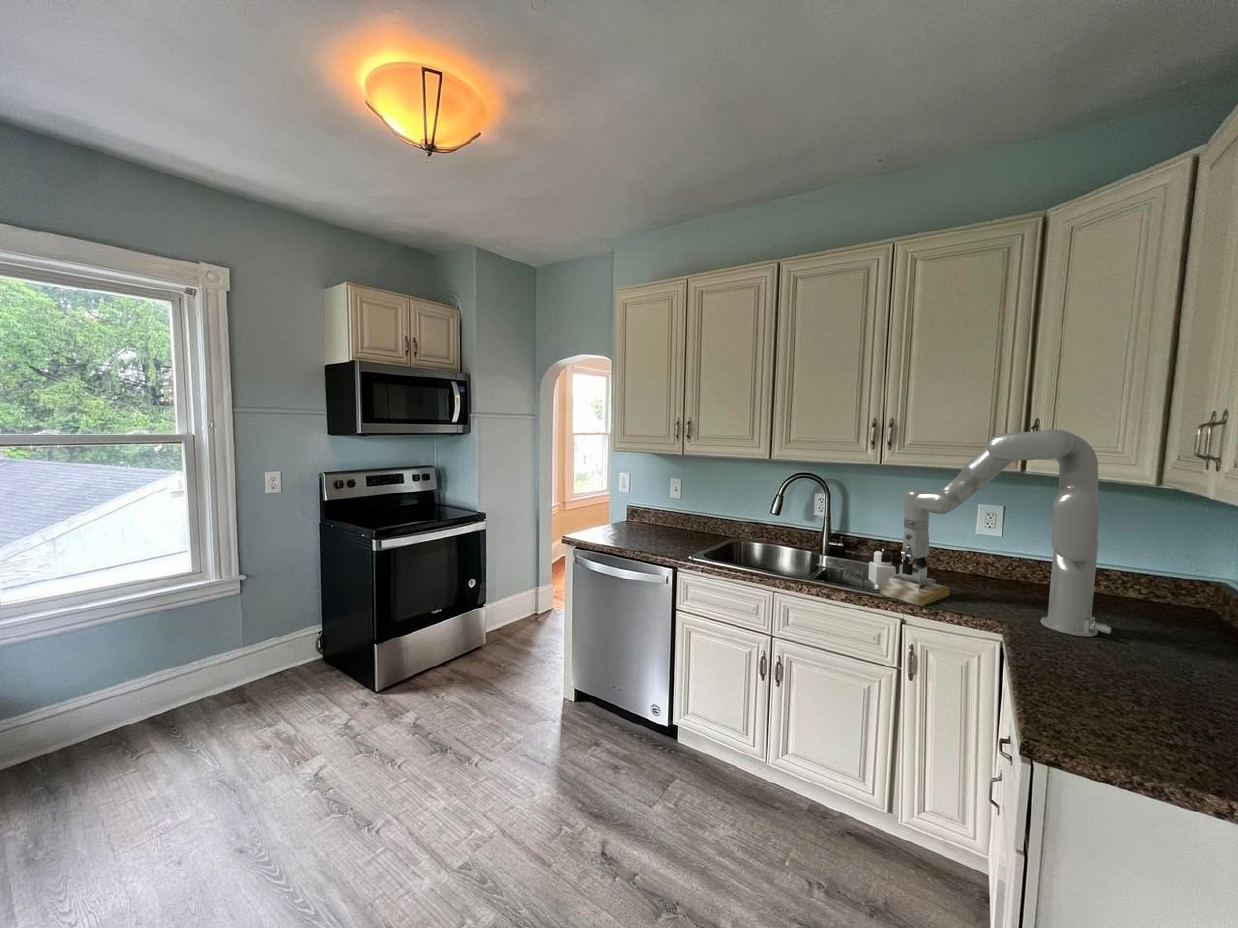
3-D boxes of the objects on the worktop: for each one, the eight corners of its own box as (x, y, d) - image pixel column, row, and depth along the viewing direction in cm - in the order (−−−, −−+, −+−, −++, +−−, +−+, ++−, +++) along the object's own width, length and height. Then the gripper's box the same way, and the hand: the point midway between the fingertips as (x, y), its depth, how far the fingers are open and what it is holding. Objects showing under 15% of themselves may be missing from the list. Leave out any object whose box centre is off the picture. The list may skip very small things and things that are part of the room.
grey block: (925, 587, 176) (927, 567, 175) (919, 589, 173) (920, 569, 172) (905, 581, 182) (906, 562, 181) (898, 584, 179) (899, 564, 178)
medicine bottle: (886, 580, 194) (888, 550, 193) (895, 585, 187) (897, 554, 186) (868, 579, 194) (869, 549, 193) (875, 584, 187) (877, 553, 186)
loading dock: (949, 595, 176) (950, 580, 176) (922, 605, 165) (923, 589, 165) (908, 584, 188) (908, 570, 188) (880, 593, 177) (880, 578, 176)
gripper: (915, 529, 168) (913, 578, 169) (939, 524, 177) (936, 570, 178) (892, 525, 174) (890, 573, 175) (916, 520, 183) (915, 566, 185)
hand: (914, 572), depth 177 cm, fingers open, 9 cm apart
